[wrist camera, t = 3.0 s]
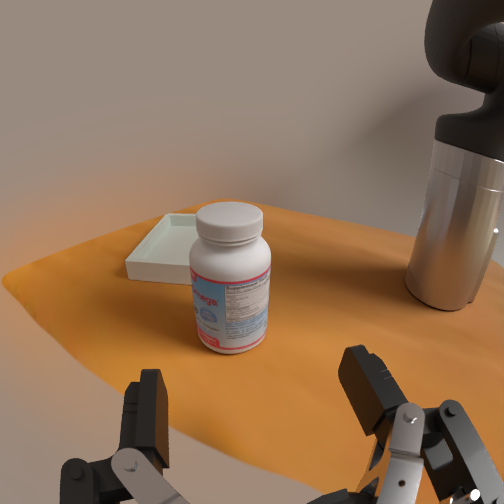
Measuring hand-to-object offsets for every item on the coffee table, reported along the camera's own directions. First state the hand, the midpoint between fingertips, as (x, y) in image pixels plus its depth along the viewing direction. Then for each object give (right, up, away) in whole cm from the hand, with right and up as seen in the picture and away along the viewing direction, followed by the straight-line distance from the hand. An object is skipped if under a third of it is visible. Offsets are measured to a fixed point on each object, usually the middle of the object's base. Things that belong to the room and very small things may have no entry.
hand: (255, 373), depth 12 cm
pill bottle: (-2, -2, +14) cm, 14 cm away
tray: (-7, +5, +27) cm, 28 cm away
